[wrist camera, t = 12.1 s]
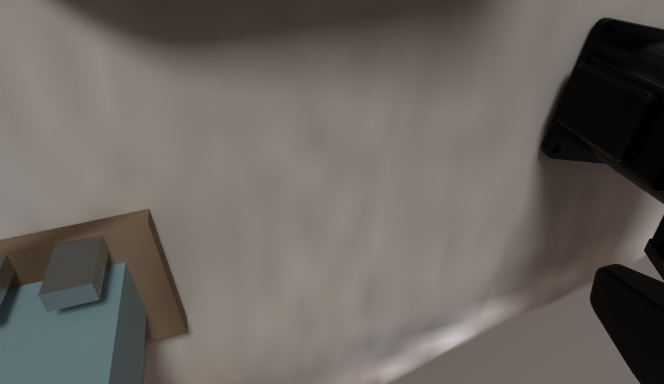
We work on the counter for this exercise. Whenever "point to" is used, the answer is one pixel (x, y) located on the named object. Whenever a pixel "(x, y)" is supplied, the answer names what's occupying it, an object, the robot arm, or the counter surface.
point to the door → (74, 336)
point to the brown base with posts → (97, 268)
